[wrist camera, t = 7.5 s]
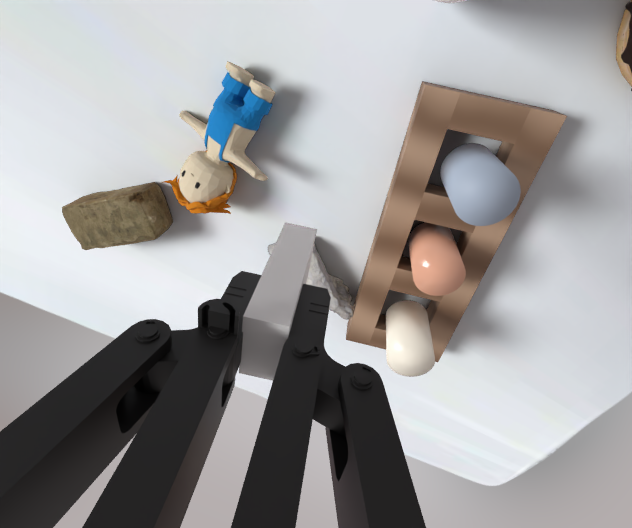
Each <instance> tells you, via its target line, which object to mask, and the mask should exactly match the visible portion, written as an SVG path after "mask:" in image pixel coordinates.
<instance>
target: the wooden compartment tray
mask: <svg viewBox="0 0 632 528" xmlns="http://www.w3.org/2000/svg"><path fill="white" fill-rule="evenodd" d="M566 117H567V116H566V115H563V114H561V113H558V112H556V111H553V110H549V109H545V108H540V107H536V106H531V105H527V104H522V103H518V102H513V101H509V100H504V99H500V98H495V97H491V96H486V95H482V94H477V93H473V92H468V91H464V90H459V89H455V88H450V87H445V86H441V85H436V84H432V83H427V82H423V81H422V84H421V87H420V90H419V93H418V97H417V100H416V103H415V106H414V110H413V113H412V116H411V119H410V123H409V126H408V129H407V132H406V136H405V139H404V142H403V145H402V149H401V152H400V155H399V158H398V162H397V165H396V168H395V172H394V175H393V178H392V181H391V185H390V188H389V191H388V194H387V198H386V201H385V204H384V207H383V211H382V214H381V217H380V220H379V224H378V227H377V230H376V233H375V237H374V240H373V243H372V246H371V250H370V253H369V256H368V259H367V263H366V266H365V269H364V273H363V276H362V279H361V282H360V286H359V289H358V292H357V295H356V299H355V302H354V305H353V317H351V318H350V319H349V321H348V325H347V334H346V340H349V341H354V342H358V343H362V344H366V345H370V346H374V347H378V348H382V349H386V315H383V314H380V313H381V310H382V307H383V305H384V302H385V299H386V296H387V294H388V291H389V290H393V291H397V292H401V293H405V294H409V295H414V296H418V297H422V298H426V299H430V300H431V302H430V304H429V306H428V308H427V310H426V311H427V314H428V320H429V326H430V332H431V338H432V344H433V350H434V356H435V362H438V361H439V359H440V357H441V356H442V354H443V352H444V350H445V348H446V346H447V344H448V342H449V340H450V338H451V336H452V335H453V333H454V331H455V329H456V327H457V325H458V323H459V321H460V319H461V317H462V315H463V314H464V312H465V310H466V308H467V306H468V304H469V302H470V300H471V298H472V296H473V294H474V293H475V291H476V289H477V287H478V285H479V283H480V281H481V279H482V277H483V275H484V273H485V272H486V270H487V268H488V266H489V264H490V262H491V260H492V258H493V256H494V254H495V252H496V251H497V249H498V247H499V245H500V243H501V241H502V239H503V237H504V235H505V233H506V231H507V230H508V228H509V226H510V224H511V222H512V220H513V218H514V216H515V214H516V212H517V210H518V208H519V207H520V205H521V203H522V201H523V199H524V197H525V195H526V193H527V191H528V189H529V187H530V186H531V184H532V182H533V180H534V178H535V176H536V174H537V172H538V170H539V168H540V166H541V165H542V163H543V161H544V159H545V157H546V155H547V153H548V151H549V149H550V147H551V145H552V144H553V142H554V140H555V138H556V136H557V134H558V132H559V130H560V128H561V126H562V124H563V123H564V121H565V119H566ZM447 129H450V130H454V131H459V132H463V133H468V134H472V135H476V136H481V137H485V138H490V139H494V140H499V141H502V144H501V146H500V148H499V150H498V153H497V155H496V157H497V158H498V159H499V160H500V161H501V162H502V163H503V164H504V165H505V166H506V167H507V168H508V169H509V170H510V171H511V172H512V173H513V174H514V175H515V176H516V177H517V179H518V181H519V184H520V189H521V193H520V198H519V201H518V204H517V206H516V207H515V209H514V210H513V211H512V212H511V213H510V215H508V216H507V217H506V218H505V219H503V220H501V221H499V222H497V223H495V224H492V225H487V226H475V225H471V224H468V223H466V222H464V221H463V220H461V219H460V218H459V217H458V216H457V214H456V213H455V210H454V208H453V206H452V203H451V201H450V199H449V196H448V194H447V192H446V190H445V187H441V186H437V185H432V184H428V181H429V178H430V175H431V172H432V170H433V167H434V164H435V161H436V159H437V156H438V153H439V150H440V148H441V145H442V142H443V139H444V137H445V134H446V131H447ZM414 220H418V221H423V222H427V223H431V224H435V225H440V226H444V227H448V228H453V229H457V230H461V231H462V233H461V235H460V237H459V239H458V242H457V244H456V245H457V248H458V250H459V253H460V256H461V258H462V261H463V264H464V266H465V270H466V276H465V279H464V282H463V283H462V285H461V286H460V287H459V288H458V289H457V290H455V291H454V292H452V293H450V294H447V295H442V296H433V295H429V294H426V293H424V292H422V291H421V290H419V289H418V288H417V287H416V285H415V283H414V281H413V275H412V267H411V260H410V258H408V257H403V256H401V255H402V252H403V250H404V247H405V244H406V241H407V239H408V236H409V233H410V230H411V228H412V225H413V222H414Z"/></svg>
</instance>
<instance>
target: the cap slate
mask: <svg viewBox="0 0 632 528" xmlns="http://www.w3.org/2000/svg"><path fill="white" fill-rule="evenodd" d="M440 176H441V180H442V183H443V185H444V187H445V190H446V192H447V194H448V196H449V199H450V201H451V203H452V206H453V208H454V210H455V213H456V214H457V216H458V217H459V218H460V219H461V220H463V221H464V222H466V223H468V224H471V225H475V226H487V225H492V224H495V223H497V222H499V221H501V220H503V219H505V218H506V217H507V216H508V215H510V213H511V212H512V211H513V210H514V209H515V207H516V206H517V204H518V201H519V198H520V193H521V189H520V184H519V181H518V179H517V177H516V176H515V175H514V174H513V173H512V172H511V171H510V170H509V169H508V168H507V167H506V166H505V165H504V164H503V163H502V162H501V161H500V160H499V159H498V158H497V157H496V156H495V155H494V154H493V153H492V152H491V151H490V150H489V149H488V148H487V147H485V146H483V145H481V144H476V143H468V144H464V145H461V146H458V147H456V148H455V149H453V150H452V151H451V152H450V153H449V154H448V155H447V156H446V157H445V159H444V161H443V163H442V166H441V170H440Z"/></svg>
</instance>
